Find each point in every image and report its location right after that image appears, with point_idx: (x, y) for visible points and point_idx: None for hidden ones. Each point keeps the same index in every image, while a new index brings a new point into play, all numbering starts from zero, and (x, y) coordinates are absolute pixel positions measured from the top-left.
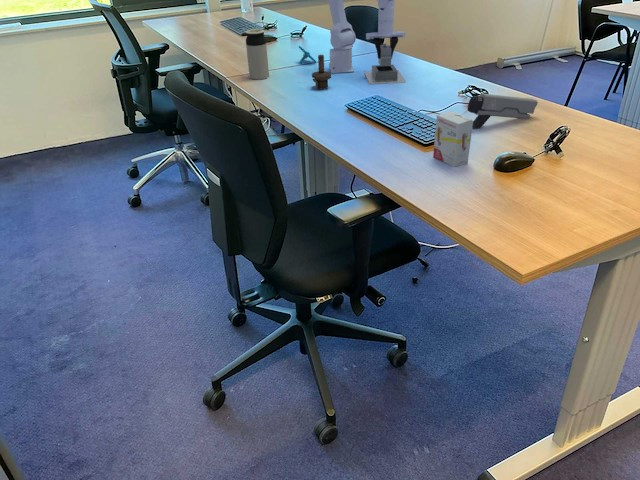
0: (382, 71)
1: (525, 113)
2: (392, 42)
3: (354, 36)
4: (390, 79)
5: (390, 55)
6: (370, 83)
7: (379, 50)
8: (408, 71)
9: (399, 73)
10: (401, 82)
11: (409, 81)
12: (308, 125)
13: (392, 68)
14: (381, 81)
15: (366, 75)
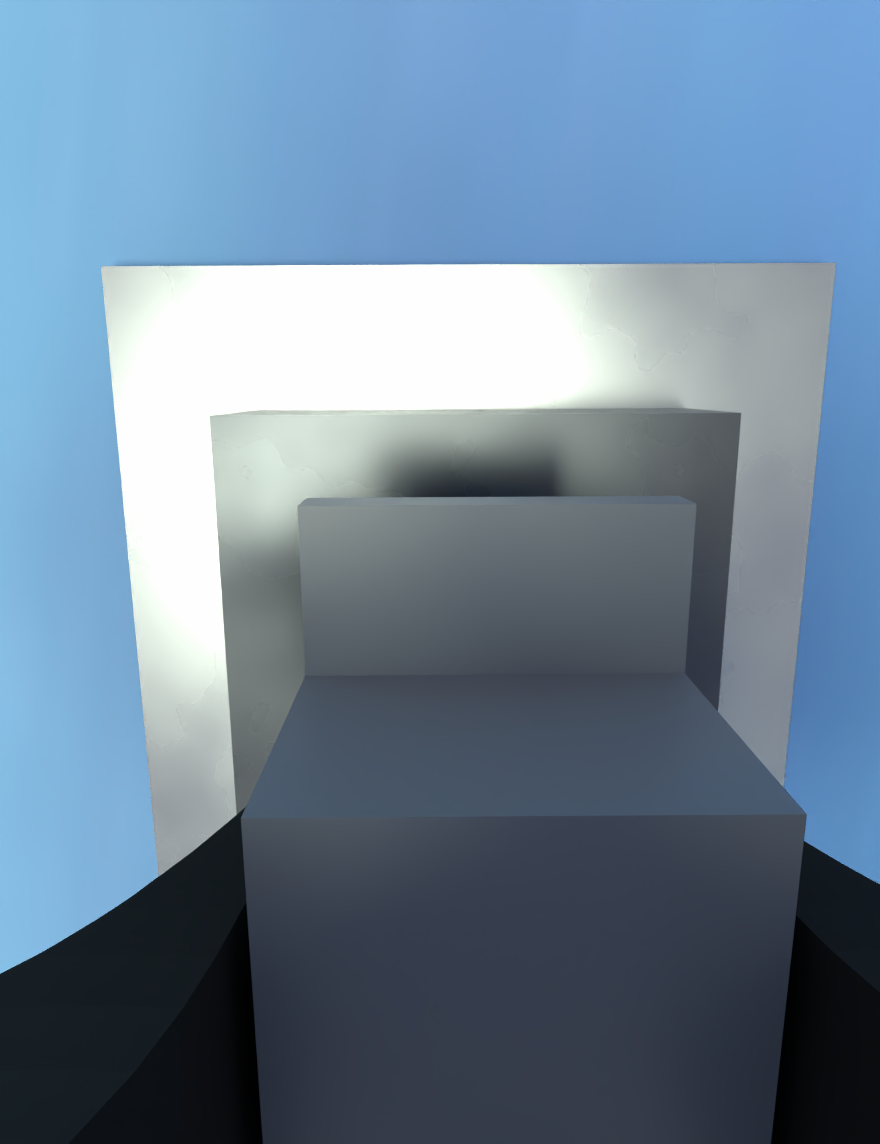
0: (563, 474)
1: None
2: (70, 1112)
3: None
4: (387, 408)
5: (333, 682)
6: (803, 266)
7: (802, 884)
8: (4, 950)
9: (170, 785)
10: (192, 272)
11: (33, 333)
12: None
13: (299, 686)
14: (582, 309)
15: (776, 761)
